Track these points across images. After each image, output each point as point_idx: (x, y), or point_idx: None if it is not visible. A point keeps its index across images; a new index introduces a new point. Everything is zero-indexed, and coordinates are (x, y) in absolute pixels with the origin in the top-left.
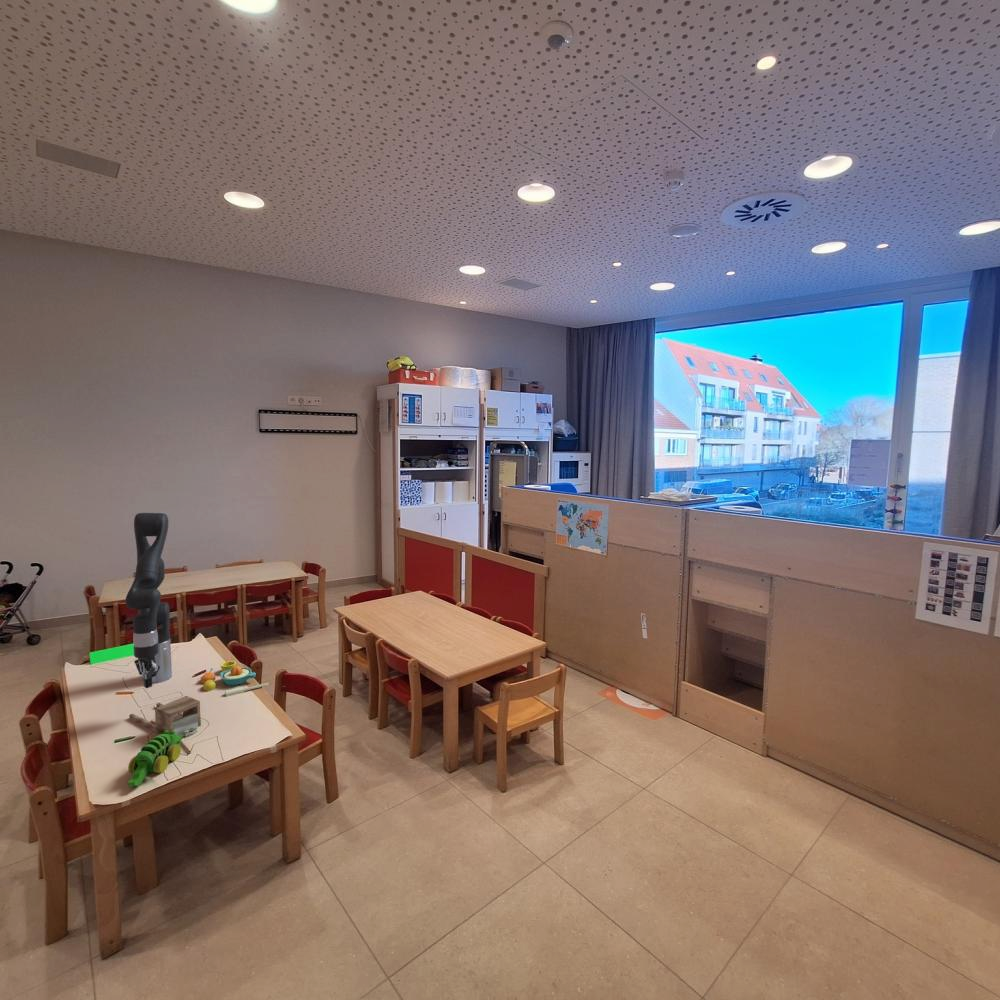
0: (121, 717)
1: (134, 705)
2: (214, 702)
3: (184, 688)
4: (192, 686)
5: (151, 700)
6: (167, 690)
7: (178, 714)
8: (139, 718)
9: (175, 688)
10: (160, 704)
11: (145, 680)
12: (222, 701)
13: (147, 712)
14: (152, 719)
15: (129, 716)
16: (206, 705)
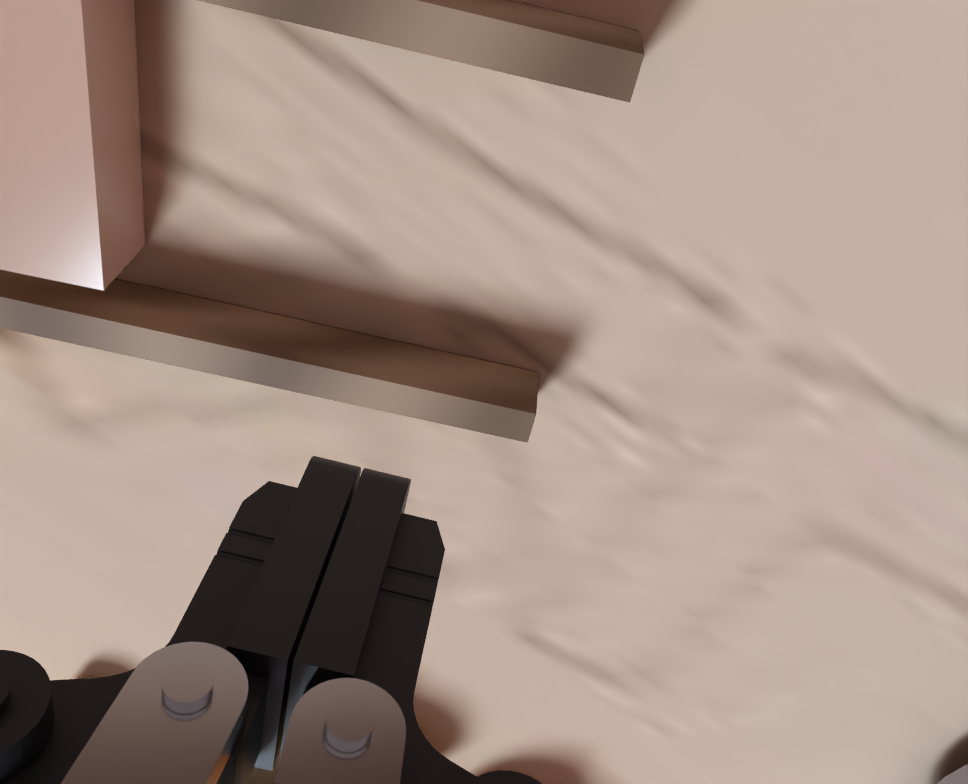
0: (842, 58)
1: (920, 372)
2: (79, 593)
3: (639, 729)
4: (593, 762)
5: (790, 504)
6: (788, 681)
7: (14, 288)
8: (355, 6)
9: (734, 718)
10: (466, 413)
11: (250, 610)
12: (32, 618)
13: (574, 276)
14: (70, 17)
15: (639, 46)
16: (85, 539)
